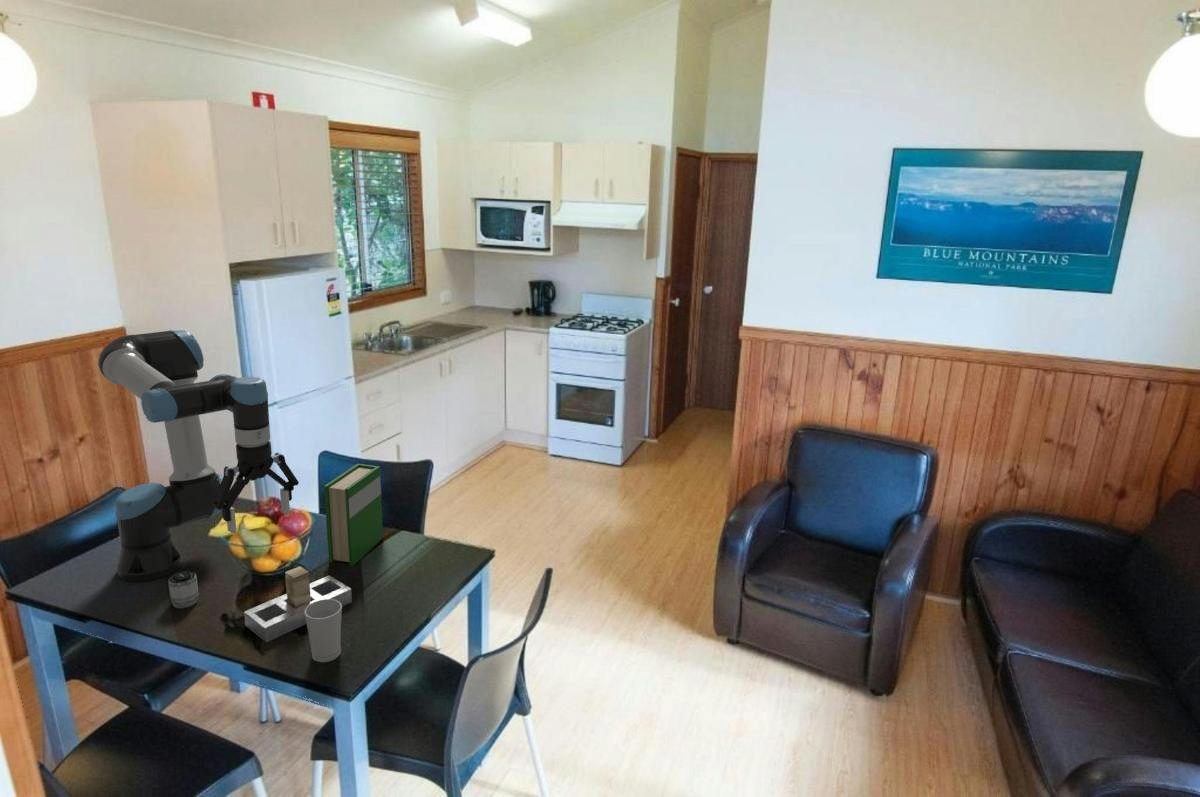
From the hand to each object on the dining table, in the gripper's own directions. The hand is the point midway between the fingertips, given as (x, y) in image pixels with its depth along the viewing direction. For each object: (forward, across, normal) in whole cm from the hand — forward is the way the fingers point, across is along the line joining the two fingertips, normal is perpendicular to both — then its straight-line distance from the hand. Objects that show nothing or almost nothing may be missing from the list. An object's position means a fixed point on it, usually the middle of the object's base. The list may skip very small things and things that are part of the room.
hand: (259, 522), depth 173 cm
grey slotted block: (+24, +4, -9) cm, 26 cm away
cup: (+23, -1, -28) cm, 37 cm away
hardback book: (+25, +33, +8) cm, 42 cm away
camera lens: (+25, -12, +17) cm, 32 cm away
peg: (+24, +4, -9) cm, 26 cm away
